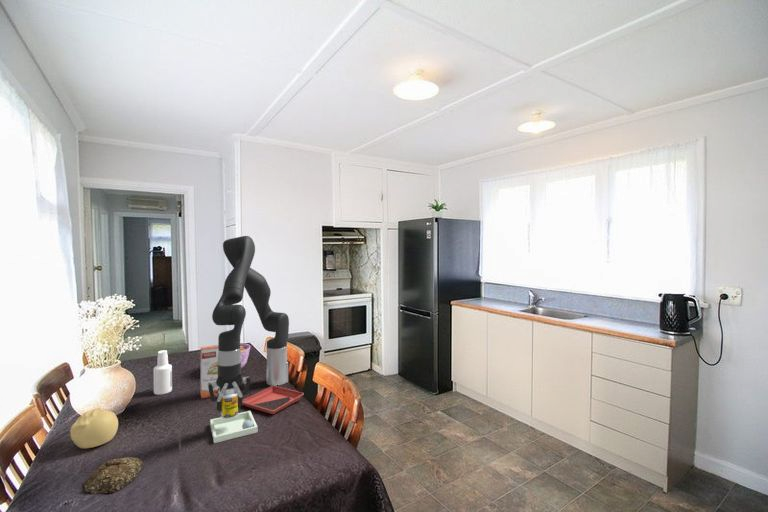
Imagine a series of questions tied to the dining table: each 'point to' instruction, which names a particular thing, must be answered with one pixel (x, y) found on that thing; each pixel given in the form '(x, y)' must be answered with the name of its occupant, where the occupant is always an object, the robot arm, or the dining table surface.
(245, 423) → the ball
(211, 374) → the cracker box
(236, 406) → the supplement bottle
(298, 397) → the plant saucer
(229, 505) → the dining table surface
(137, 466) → the mottled brown rock
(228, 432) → the tray
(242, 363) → the bowl of food
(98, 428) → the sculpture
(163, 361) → the spray bottle
